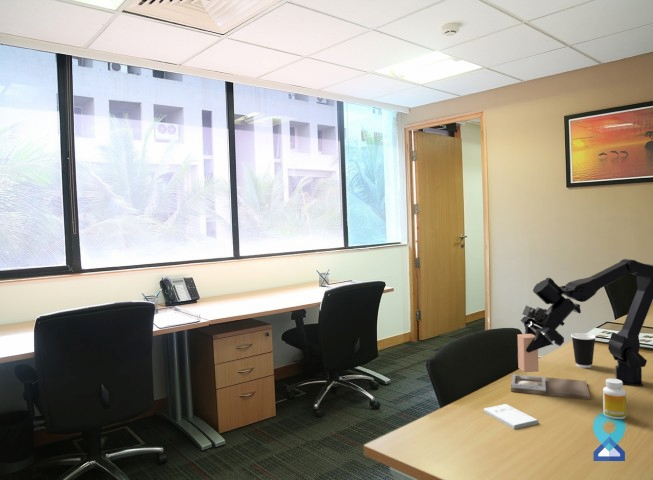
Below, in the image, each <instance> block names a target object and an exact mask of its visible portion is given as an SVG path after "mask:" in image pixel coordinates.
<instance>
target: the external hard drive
mask: <svg viewBox="0 0 653 480" xmlns="http://www.w3.org/2000/svg"><path fill="white" fill-rule="evenodd" d="M483 413H485V414H486V413H487V415H488V416H490V417H492V418H493V417H494V419H495V420H497V421H499V422H500V421H501V423H502V424H503V425H506V426H507V427H509V428H511V429H512V430H516V429H517V430H518V429H520V428H525V427H529V426H533V425H534V426H535V425H538V424H539V419H536V418H534V417H533V416H531V415H530V414H527V413H525V412H523V411H522V410H521V411H520V410H519V409H517V408H515V407H513V406H511V405H510V404H507V403H504V404H499V405H494V406H489V407H484V408H483Z"/></svg>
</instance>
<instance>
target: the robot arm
mask: <svg viewBox="0 0 653 480" xmlns="http://www.w3.org/2000/svg"><path fill="white" fill-rule="evenodd" d="M630 274H632V275H635V276H636V288H637V290H636V293H635V294H634V298H633V300H632V303H631V305H630V307H629V310H628V312H627V316H626V318H625V321H624V322H623V325H622V327H621V330H619V331H618V332H617V333H616V332H611V335H610V339H609V341H608V342H607V344H608V346H607V348H608V349H607V350H608V352H609V353H610V354H611V355H612V357H613V359H614V360H615V361H617V365H615V379H618V380H621V381H622V382H623V385H628V386H629V385H630V386H638V387H639V386H641V387H643V386H644V384H643V382H642V381H643V379H642V374H643V373H642V372H643V369H642V368H645V367H646V365H647V362H648V360H647V359H646V358H645V357H643V356H642V355H641V353H639V352H640V348H641V343H640V333H641V331H642V329H643V326H644V324H645V322H646V321H645V320H646V319H647V316H648V313H649V311H650V308H651V306H652V303H653V264H649V263H643V262H639V261H637V260H635V259H628V258H623V259H621V260H620V261H619V262H617V263H614V264H613V265H611V266H609V267H607V268H605V269H603V270H601V271H599V272H596V273H595V274H593V275H591V276H588V277H585V278H579V279H576V280H571V281H569V282H568V283H566V284H565V285H561V286H559V285H558V284H557V283H556V282H555V281H554V280H553V278H551V277H545V278H546V279H543V280H542V281H540V282H539V283H538V282H537V283H536V284H535V285H534V287H533V289H532V292H533V294H535V295H536V296H537V297H538V298H539V299H540V300H541V301H543V303H544V304H546V305H550V306H549V307H548V309H547V308H541V307H539V306H538V307H536V308H533V307H531V306H529V305H527V304H526V305H525V307H524V310H523V312H522V315H523V317H522V318H521V319H520V322H521V323H522V324H523V326H524V334H533V335H535V338H534V339H533V340H532V342H531V343H530V345H529V346H528V347H527V349H526V351H527V352H528V353H529V352H532V351H534V350H537V349H538V350H539V349H543V348H545V347H549V346H553V345H554V344H555V345H556V346H558V347H561V346H562V345H563V344H564V343H565V337H564V336H563V335H562V334H560V333H559V331H558V330H557V329H558V328H559V327H560V326H561V327H563V326H564V325H565V322H564V321H565V320H566V319H567V318H568V316H569V315H571V314H572V313H573V312H574V313H577V314H581V313H582V311H581V304H578V303H574V302H573V301H572V300H574V301H576V302H581V303H584V302H588V300H589V299H591V298H592V297H594V296H595V295H596V294H597V292H598V291H599V290H600V289H602V288H603V287H606V286H608V285H610V284H612V283H614V282H616V281H618V280H620V279H621V278H624V277H626V276H628V275H630ZM565 297H566V298H565Z"/></svg>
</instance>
